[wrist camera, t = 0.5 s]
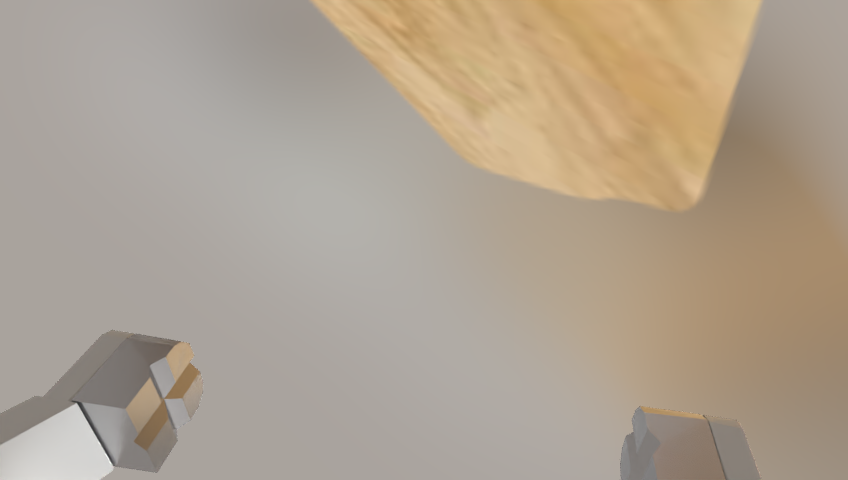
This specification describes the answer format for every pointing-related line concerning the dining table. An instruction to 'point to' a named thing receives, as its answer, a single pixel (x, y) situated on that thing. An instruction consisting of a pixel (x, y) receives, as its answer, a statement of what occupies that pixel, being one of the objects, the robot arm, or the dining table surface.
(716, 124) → the dining table surface
